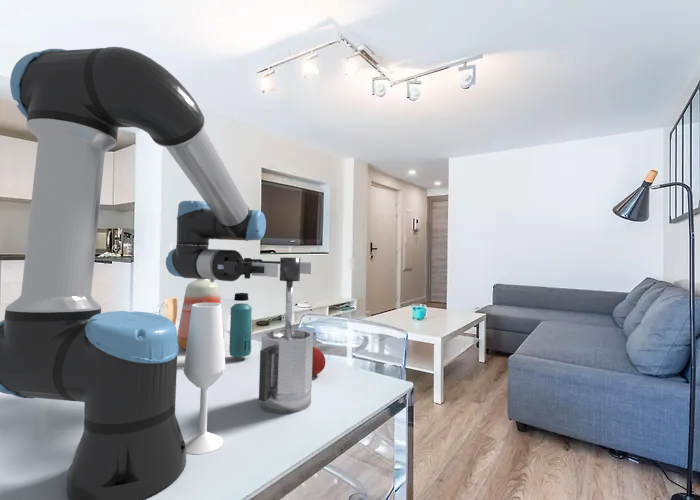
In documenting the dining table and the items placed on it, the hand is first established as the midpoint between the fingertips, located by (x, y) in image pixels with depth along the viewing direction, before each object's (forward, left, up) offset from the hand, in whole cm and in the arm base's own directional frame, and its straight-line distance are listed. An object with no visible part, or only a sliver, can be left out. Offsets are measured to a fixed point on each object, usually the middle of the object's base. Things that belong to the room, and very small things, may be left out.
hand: (296, 269), depth 81 cm
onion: (+17, +4, -30) cm, 35 cm away
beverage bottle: (+19, +31, -30) cm, 47 cm away
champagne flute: (-22, +4, -30) cm, 37 cm away
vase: (+22, +50, -30) cm, 63 cm away
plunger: (-1, +2, -17) cm, 17 cm away
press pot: (-2, +2, -30) cm, 30 cm away
